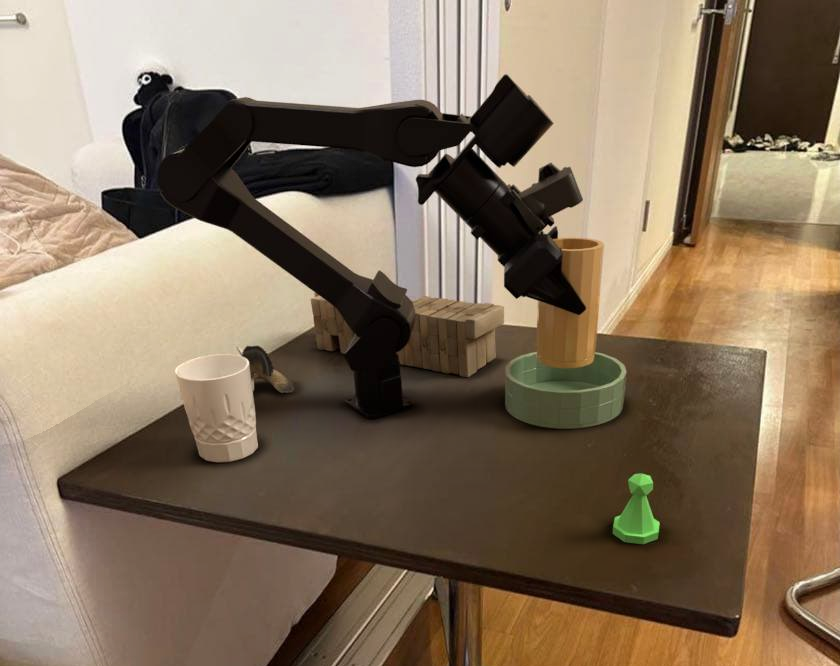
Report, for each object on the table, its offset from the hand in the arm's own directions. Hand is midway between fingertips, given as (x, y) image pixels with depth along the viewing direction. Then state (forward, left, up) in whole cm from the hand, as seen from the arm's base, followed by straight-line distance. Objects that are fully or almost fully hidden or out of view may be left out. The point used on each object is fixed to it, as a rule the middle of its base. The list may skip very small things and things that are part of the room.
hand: (580, 302), depth 90 cm
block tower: (-29, -7, -13) cm, 32 cm away
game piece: (+25, -15, -13) cm, 32 cm away
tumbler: (-1, -1, -7) cm, 7 cm away
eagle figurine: (-30, -29, -13) cm, 44 cm away
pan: (-1, -1, -12) cm, 13 cm away
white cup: (-15, -39, -13) cm, 44 cm away
